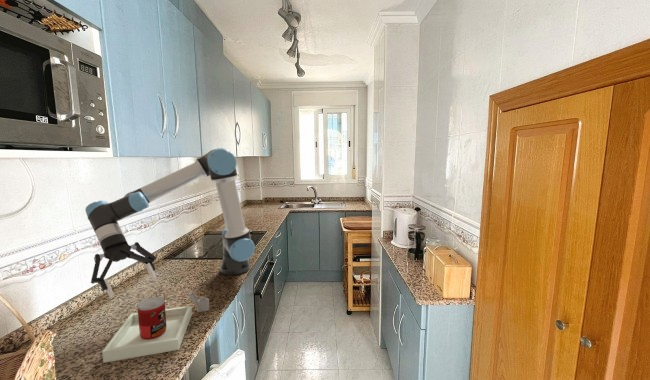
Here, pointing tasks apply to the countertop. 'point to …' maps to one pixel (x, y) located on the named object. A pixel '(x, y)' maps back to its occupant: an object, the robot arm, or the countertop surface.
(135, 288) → the countertop surface
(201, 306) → the lighter
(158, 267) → the countertop surface
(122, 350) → the tray
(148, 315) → the canned food
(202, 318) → the countertop surface
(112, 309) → the countertop surface
